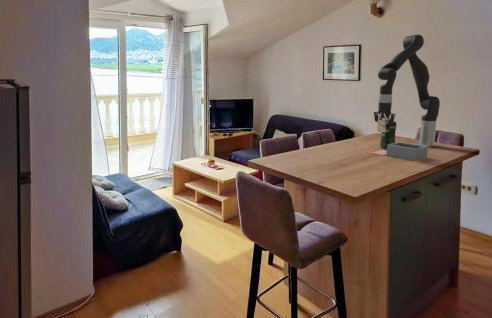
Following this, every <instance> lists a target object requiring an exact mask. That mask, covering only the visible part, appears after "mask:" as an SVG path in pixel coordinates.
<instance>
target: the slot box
mask: <svg viewBox="0 0 492 318" xmlns="http://www.w3.org/2000/svg"><path fill="white" fill-rule="evenodd" d="M428 149H429V147H428V146H424V145H419V143H418V144H417V143H411V142H406V141H405V142H404V141H397V142H395V143H393V144H388V145H387V149H386V151H387V155H386V157H390V158H395V159H400V160H404V161H405V160H407V161H411V162H416V161H420V160H423V159H427V157H428Z"/></svg>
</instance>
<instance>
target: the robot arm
mask: <svg viewBox="0 0 492 318" xmlns="http://www.w3.org/2000/svg"><path fill="white" fill-rule="evenodd" d="M424 43H425V40H424V37H423V36H422V34H413V35H409V36H405V37H404V38H403V40H402V46H403V50H402V51H400V52H399V53H397V54H396V55H395V56H394V57H392V58H391V60H390V61H389V62H388V63H387V64H384V65H383V66H382V67H381V68H380V69H379V70H378V73H377V77H378V79H380V80H381V81H386V82H385V83H383V84H381V85H380V86H379V95H378V96H379V97H378V107H377V109H378V111H374V112H373V116H374V117H373V118H374V122H376V123H377V124H378V120H382V119H383V120H386V123H387V124H386V130H389V129H390V123H393V121H394V120H395V117H396V113H392V107H393V106H392V105H393V103H392V102H393V86H394V84H395V81H396V78H397V72H398V71H399V70H400V68H402V66H403V65H404V64H405V62H407V61H408V62H409V66H410V69H411V72H412V76H413V78H414V82H415V86H416V89H417V95H418V100H419V106H420V107H421V109H422V110H425V111H427V112H426V113H425V114H424V115H422V116H421V122H420V131H419V132H420V133H419V143H418V145H424V146H428V148H430V147H431V148H432V147H435V142H436V140H435V139H436V131H437V130H436V128H437V119H438V117H439V111H440V104H441V102H440V98H439V97H438V96H434V95H433V96H432V95H430V93H429V90H428V85H429V81H430V74H429V73H430V72H429V68H428V66H427V65H426V63H425V62H423V60H421V58H419V56H418V55H417V52H418V51H420V50H421V49H422V47H423V46H424Z"/></svg>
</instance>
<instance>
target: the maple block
mask: <svg viewBox="0 0 492 318" xmlns="http://www.w3.org/2000/svg"><path fill="white" fill-rule="evenodd" d="M386 124H387V123H386V120H385V119H384V118H383V119H382V120H378V123H377V130H376V131H377V132H379V133H382V132H389V130H386Z"/></svg>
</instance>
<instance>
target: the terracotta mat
mask: <svg viewBox="0 0 492 318" xmlns="http://www.w3.org/2000/svg"><path fill="white" fill-rule="evenodd" d="M369 153H370V154H372V155H376V156H382V157H383V156H387V150H386V149H385V150H383V149H379V150H376V151H370V152H369Z"/></svg>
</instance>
